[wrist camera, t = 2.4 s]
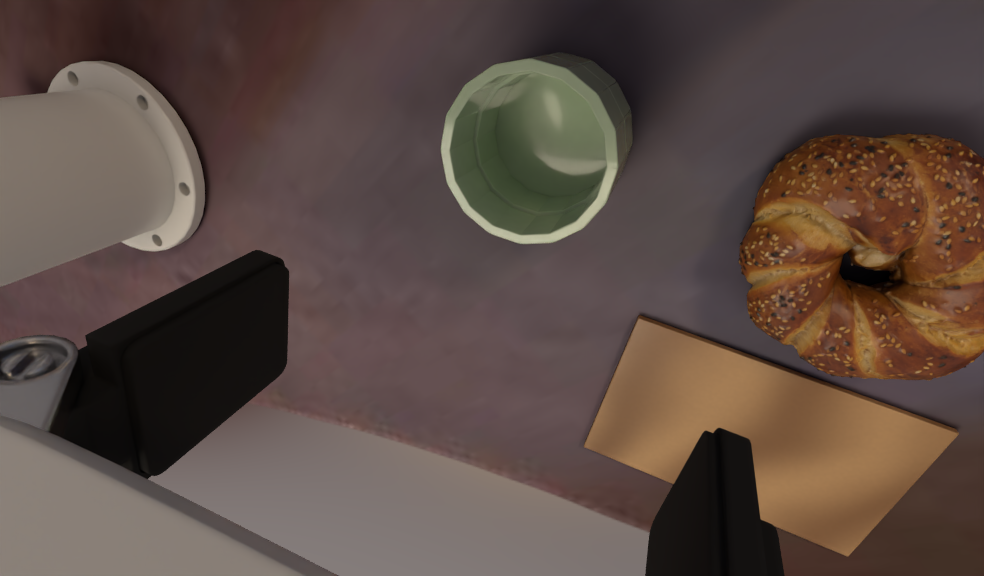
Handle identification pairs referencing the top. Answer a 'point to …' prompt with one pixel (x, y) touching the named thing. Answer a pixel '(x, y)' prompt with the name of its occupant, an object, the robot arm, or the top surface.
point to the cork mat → (765, 432)
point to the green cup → (536, 146)
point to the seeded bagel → (872, 255)
